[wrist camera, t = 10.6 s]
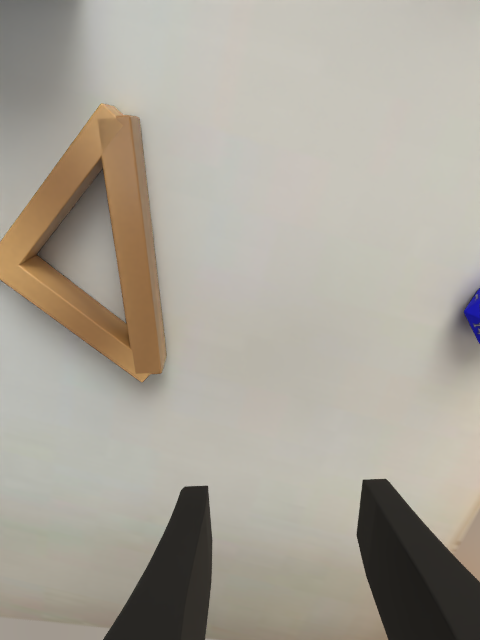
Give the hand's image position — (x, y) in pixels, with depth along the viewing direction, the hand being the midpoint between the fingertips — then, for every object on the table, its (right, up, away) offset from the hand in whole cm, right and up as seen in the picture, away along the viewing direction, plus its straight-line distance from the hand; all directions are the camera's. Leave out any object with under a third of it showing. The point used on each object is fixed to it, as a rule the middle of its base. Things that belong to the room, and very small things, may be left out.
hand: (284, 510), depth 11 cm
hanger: (-9, +8, +6) cm, 13 cm away
